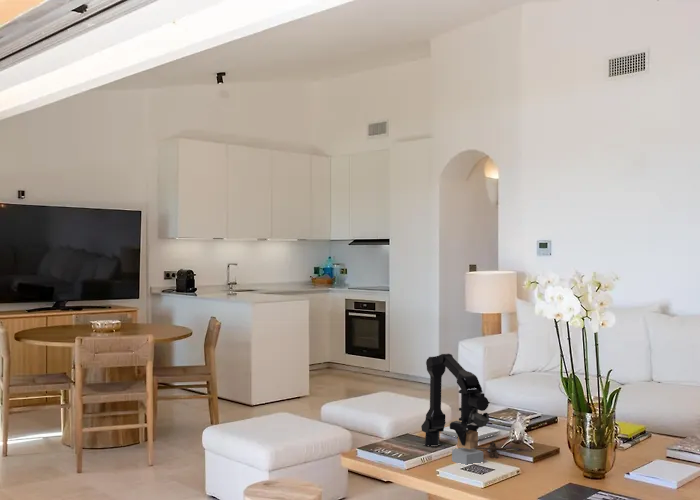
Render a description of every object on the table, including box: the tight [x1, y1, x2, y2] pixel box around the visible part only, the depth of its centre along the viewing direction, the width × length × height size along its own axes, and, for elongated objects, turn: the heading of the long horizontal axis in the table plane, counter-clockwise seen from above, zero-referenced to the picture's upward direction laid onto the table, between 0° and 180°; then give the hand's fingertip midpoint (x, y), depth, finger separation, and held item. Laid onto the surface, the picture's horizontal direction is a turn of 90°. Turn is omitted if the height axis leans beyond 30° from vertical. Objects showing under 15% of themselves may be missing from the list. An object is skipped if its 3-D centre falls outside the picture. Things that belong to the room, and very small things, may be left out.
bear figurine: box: [474, 441, 512, 459], centre depth 304 cm, size 18×4×14 cm
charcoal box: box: [451, 447, 484, 465], centre depth 291 cm, size 9×9×5 cm
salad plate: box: [440, 425, 502, 440], centre depth 333 cm, size 21×21×3 cm
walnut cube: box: [457, 430, 479, 449], centre depth 291 cm, size 6×6×6 cm
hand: (467, 443), depth 291 cm, fingers closed on walnut cube, 6 cm apart
